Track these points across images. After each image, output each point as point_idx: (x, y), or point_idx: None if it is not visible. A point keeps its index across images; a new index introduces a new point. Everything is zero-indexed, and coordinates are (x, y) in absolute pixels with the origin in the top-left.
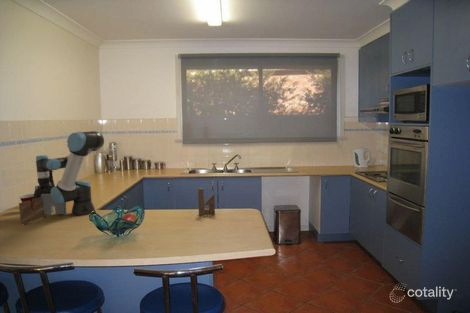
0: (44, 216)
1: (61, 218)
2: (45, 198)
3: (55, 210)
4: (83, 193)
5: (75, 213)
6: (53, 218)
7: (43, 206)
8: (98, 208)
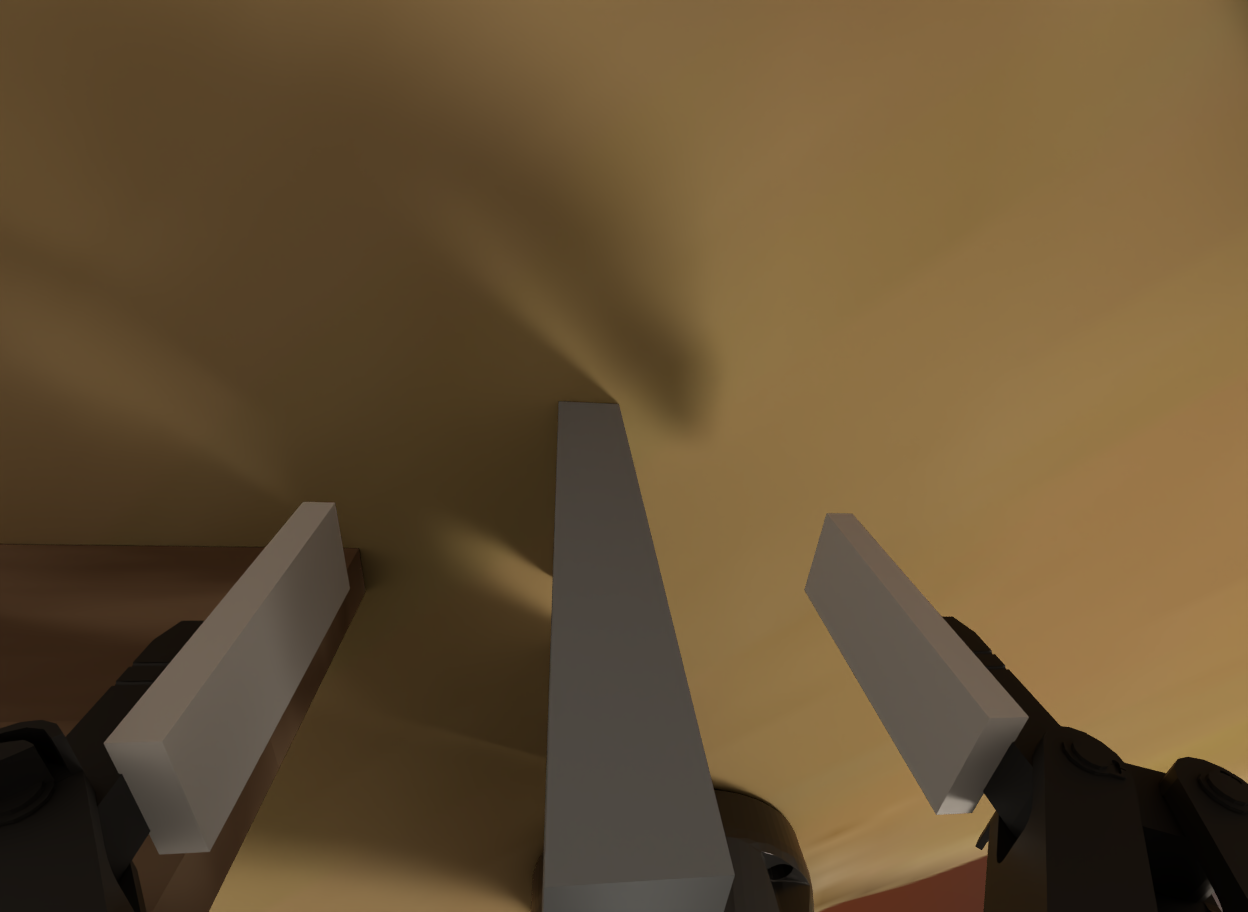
0: (355, 600)
1: (378, 818)
2: (545, 820)
3: (548, 707)
4: None
5: (531, 903)
6: (344, 743)
7: (255, 787)
8: (860, 886)
